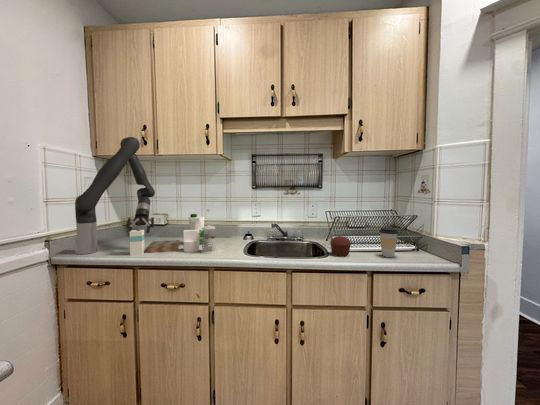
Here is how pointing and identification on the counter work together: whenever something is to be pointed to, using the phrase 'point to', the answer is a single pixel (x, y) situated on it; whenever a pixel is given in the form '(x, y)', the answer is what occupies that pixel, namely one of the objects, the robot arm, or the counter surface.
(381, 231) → the coffee cup
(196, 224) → the milk carton
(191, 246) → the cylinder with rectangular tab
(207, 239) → the french press
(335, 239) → the muffin
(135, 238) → the cream carton
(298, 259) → the counter surface
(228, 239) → the counter surface
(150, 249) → the brown shallow square tray
